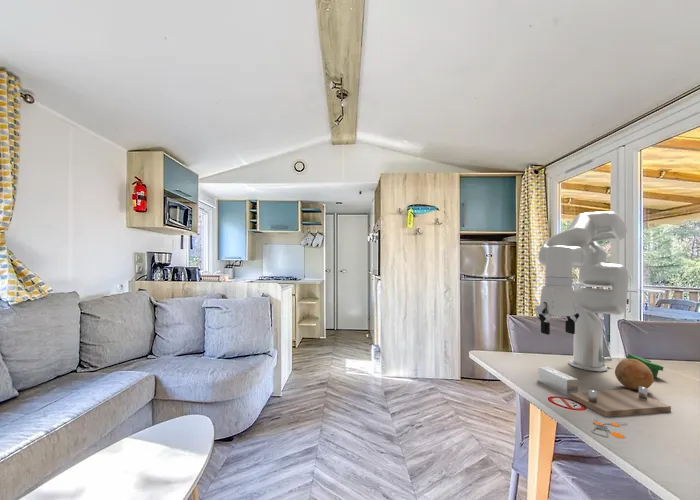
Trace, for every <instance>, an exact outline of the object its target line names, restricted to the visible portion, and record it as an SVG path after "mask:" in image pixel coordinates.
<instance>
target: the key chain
mask: <svg viewBox="0 0 700 500" xmlns="http://www.w3.org/2000/svg"><path fill="white" fill-rule="evenodd" d="M592 423H593V424H594V425H595V427H593V428H592V429H591V431H590V432H591V433H592V434H594V435H597V436H600V437H604V438H608V437H609V434H610V435H611V436H612V437H614V438H616V439H621V440H625V439H627V437H626V436H625V435H624V434H623V433H619V432H616V431H613V432H611V430H609V429H608V426H607V425H609V426H614V427H616V426H617V427H616V428H621V427H622V426H623V425H624V426H628V425H629V424H628V423H627V422H623V423H622V422H621V423H620V422H619V423H617V422H610V423H606V422H605V423H602V422H601V421H600V420H599V419H598V418H596V419H595V418H594V419H593V422H592ZM620 425H622V426H620ZM624 426H623V427H624ZM597 429H598V430H601V431H604V432H606V435H604V434H600V433H596V432H595V430H597Z"/></svg>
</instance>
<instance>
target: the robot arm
mask: <svg viewBox="0 0 700 500" xmlns="http://www.w3.org/2000/svg"><path fill="white" fill-rule="evenodd" d="M627 231H628V230H627V225H626V223H625V221H624V220H623V218H622V217H621V216H619V214H618V213H616V212H614V211H611V210H609V211H608V210H607V211H594V212H589V211H588V212H583V213H582V212H581V213H579V214H577V215H576V216H575V217H574V219H573V220H572V222H571V223H570V225H569V226H568V228H567V229H566V230H564V231H562V232H559V233H557V234H554V235H552V236H551V237H549V238H547V239H546V240H545V241H544V243H543V244H542V246H541V248H540V250H539V252H538V261H539V263H540V264H541V265H542V266H544V267H545V277H544V278H545V279H544V280H545V285H543V287H542V289H541V295H540V302H539V305H538V306H536V307H534V313H535V315H536V317H537V318H538V321H539V322H540V333H541V334H543V335H548V336H549V335H550V332H551V329H550V327H551V322H549V321H550V320H551V318H553V317H554V318H556V317H557V318H562V317H565V319H566V320H565V333H566V334H567V333H568V334H570V335H573V349H572V350H573V355H572V356H573V358H570V359H569V360H568V364H569V365H570V366H572V367H575V368H577V369H581V370H585V371H593V372H606V371H608V366H607V365H606V364H605V363H612V360H613V359H612V357H611V356H603V350H604V349H603V348H604V347H603V345H604V343H603V342H604V341H603V339H604V338H603V337H604V336H603V332H604V331H603V329H604V327H603V323H602V321H601V319H600V317H599V316H598V315H597V314H604V315H605V314H607V315H615V316H618V315H619V316H620V315H622V314H623V315H624V313H625V312H626V309H627V303H628V291H629V271H628V269H627V267H626V266H624V265H623V264H618V263H607V257H608V256H607V255H608V253H607V252H606V250H605V249H604V248H603V247H602V246H601V245H600V244H598V243H597V242H610V241H611V242H614V241H615V242H618V241H622V240H623V239H624V238H625V237H626V234H627ZM577 268H579V271H578V279H579V282H580V284H582V285H584V286H586V287H577V288H575V289H574V287H572V286H573V285H572V284H573V283H574V280H573V269H577ZM595 287H596V288H595ZM597 287H598V288H597ZM606 288H607V289H606ZM609 288H610V289H609ZM596 313H597V314H596Z"/></svg>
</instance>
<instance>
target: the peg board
mask: <svg viewBox="0 0 700 500" xmlns="http://www.w3.org/2000/svg"><path fill="white" fill-rule="evenodd" d="M569 399H571V400H573V401H575V402H576V401H577V403H578V402H579V403H578V404H580V403H581V405H582V404H583V406H584V405H585V406H584V407H586V406H587V407H586V408H588V407H589V408H588V409H590V408H591V410H592V409H593V410H592V411H594V410H595V412H596V413H598V414H600V415H602V416H604V417H605V418H606V417H607V418H609V417H621V416H622V417H623V416H631V415H632V416H634V415H645V414H646V415H647V414H658V413H659V414H660V413H670V412H672V406H671V405H670V404H666V403H664V402H661V401H659V400H656V399H654V398H652V397H649V396H648V388H646V387H641V386H639V390H638V392H636V391H635V390H634V391H633V390H632V389H629V388H626V389H615V390H614V389H613V390H612V389H611V390H598V391H597V390H596V389H595V390H594V389H588V391H585V392H584V391H578V393H570V395H569Z"/></svg>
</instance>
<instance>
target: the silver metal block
mask: <svg viewBox="0 0 700 500" xmlns="http://www.w3.org/2000/svg"><path fill="white" fill-rule="evenodd" d="M538 382H540V383H542V384H544V385H545V386H548V387H550V388H552V389H554V390H556V391H558V392H560V393H562V394H563V393H564V395H566V396H570V393H579V390H578V389H579V379H578V378H576V377H573V376H571V375H569V374H567V373H564V372H562V371H559V370H558V369H555V368H554V367H550V366H538Z"/></svg>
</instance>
